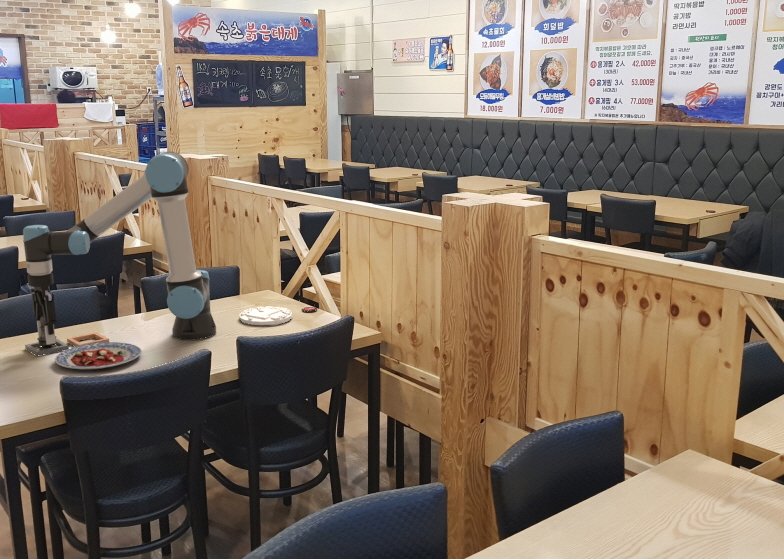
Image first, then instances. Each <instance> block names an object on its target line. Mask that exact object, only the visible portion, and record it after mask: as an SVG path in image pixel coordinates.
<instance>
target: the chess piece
mask: <svg viewBox="0 0 784 559" xmlns="http://www.w3.org/2000/svg"><path fill="white" fill-rule="evenodd" d="M43 315H44V314H43ZM40 323H41V327H40V328H41V337H39V336H38V337H37V339H36V341H38V342H39V344H40V345H42V347H39V348H38V350H44V349H48V348H53V347H57V346H56V345H55V344H54V343H53V344H54V345H53V344H48V345H47V344H46V335H45V326H44V325H43V324H45V319H44V316H42V317H41V318H40ZM56 339H57V335H55V341H56Z"/></svg>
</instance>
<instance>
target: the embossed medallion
mask: <svg viewBox="0 0 784 559" xmlns="http://www.w3.org/2000/svg"><path fill="white" fill-rule="evenodd" d="M238 318H239V319H240V320H241V321H242V322H241V321H240V320H239V321H240V322H241V323H243V322H244V323H243V324H245V323H248V324H247V325H249V324H251V325H250V326H278V325H279V324H281V325H282V323H283V324H286V323H285V322H287V323H288V321H290V319H291V320H292V318H293V312H292V310H290V309H289V308H287V307H282V306H275V307H274V306H272V305H267V306H265V307H264V306H261V305H260V306H256V307H255V308H248V309H244V310H243V311H242V312H240V313H239V315H238Z"/></svg>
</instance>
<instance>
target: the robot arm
mask: <svg viewBox="0 0 784 559" xmlns="http://www.w3.org/2000/svg"><path fill="white" fill-rule="evenodd" d="M146 164H147V165H146V167H145V170H143V175H142V176H140V177H139V178H138V179H137V180H135V181H134V182H132V183H131V184H130V185H128V186H127V187H125V188H124V189H122V190H121V191H120V192H118V193H117V194H116V195H114V196H113V197H112V198H110V199H109V200H107V201H106V202H105V203H104V204H102V205H101V206H100V207H98V208H97V209H96V210H94V211H93V212H92V213H90V214H89V215H87V216H86V217H85V218H83V219H82V220H81V221H79V222H78V223H76V224H75V225H73V226H72V227H71V228H69V229H67V230H66V231H51V230H50V229H49V226H47V225H46V224H45V225H44V224H33V225H27V226H25V227H24V228H23V230H22V234H23V235H22V236H23V238H22V239H23V240H22V242H23V247H24V248H23V249H24V255H25V263H26V264H25V265H24V268H26V272H27V283H28V284H27V285H28V286H29V287H32V288H30V293H31V294H30V295H31V300H32V302H31V303H32V312H33V313H32V314H33V318H35V321H36V325H37V334H38V338H39V337H41V328H40V327H41V323H40V318H41V317H42V316H44V319H45V324H43V325H44V326H45V335H46V344H47V345H48V344H53V343H56V341H55V336H56V333H55V324H57V315H56V309H55V295H54V294H53V293H51V290H50V286H51V285H53V284H54V283H55V282H54V273H53V260H52V256H56V255H59V256H64V255H65V256H66V255H75V256H79V255H85V254H88V253H89V251H90V248H91V243H92V242H94V241H95V240H96V239H97V238H99V237H100V236H102V235H103V234H104V233H105V232H108V231H109V230H110V229H111V228H113V227H114V226H115V225H116V224H118V223H119V222H121V221H122V220H123V219H125V218H126V217H127V216H129V215H130V214H132V213H133V212H134V211H136V210H137V209H139V208H140V207H142V206H143V205H144V204H145V203H147V202H148V201H150V200H151V199H153V200H154V201H156V203H157V207H158V212H159V213H158V214H159V218H160V225H161V231H162V235H163V242H164V247H165V255H166V260H167V267H168V272H169V274H168V275H167V277H166V279H165V281H166V287H167V288H166V289H167V298H166V304H167V307H168V310H169V312H171V314H173V316H175V319H174V322H173V325H172V331H171V332H172V337H174V338H176V339H179V340H185V339H186V340H188V341H189V340H190V341H191V340H193V339H195V340H201V339H200V338H203V339H206V338H205V337H208V338H210V337H209V336H211V337H213V336H215V335H216V334H217V325H216V323H215V320H214V317H213V315H212V312H211V300H210V299H211V298H210V296H211V295H210V277H209V272H208V271H207V270H203V269H202V270H201V269H197V266H196V262H195V261H196V260H195V255H194V254H195V253H194V248H193V242H192V236H191V229H190V224H189V216H188V210H187V204H186V198H187V196H188V195H189V187H188V186H189V185H188V180H187V179H188V177H189V176H188V175H189V171H190V170H189V165H188V161H187V160H186V158H184V156H182V154H180V153H178V152H175V151H166V152H165V151H164V152H161V153H160V154H156V155H154V156H153V157H151V158H150V160H148V162H147V163H146ZM43 314H44V315H43ZM215 333H216V334H215ZM214 334H215V335H214ZM212 335H213V336H212ZM186 340H185V341H186Z"/></svg>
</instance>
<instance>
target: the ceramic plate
mask: <svg viewBox="0 0 784 559" xmlns="http://www.w3.org/2000/svg"><path fill="white" fill-rule="evenodd" d="M141 354H142V349H141V347H139V346H137V345H135V344H132V343H126V342H118V341H117V342H115V341H109V342H103V343H93V344H87V345H81V346H77V347H74V346H72V347H70V348H69V349H68V350H65V351H61V352H59V353H58V354H57V355H56V356H55V358H54V362H55V363H56V364H57V365H58V366H60V367H64V368H67V369H74V370H75V369H76V370H99V369H106V368H113V367H115V366H120V365H123V364H127V363H129V362H131V361H134V360H135V359H137V358H138V357H139V356H141Z"/></svg>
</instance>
